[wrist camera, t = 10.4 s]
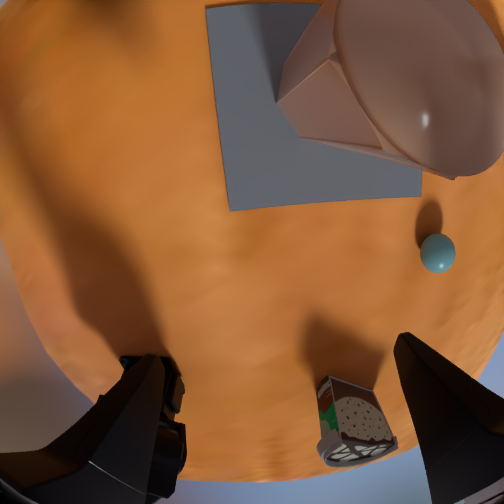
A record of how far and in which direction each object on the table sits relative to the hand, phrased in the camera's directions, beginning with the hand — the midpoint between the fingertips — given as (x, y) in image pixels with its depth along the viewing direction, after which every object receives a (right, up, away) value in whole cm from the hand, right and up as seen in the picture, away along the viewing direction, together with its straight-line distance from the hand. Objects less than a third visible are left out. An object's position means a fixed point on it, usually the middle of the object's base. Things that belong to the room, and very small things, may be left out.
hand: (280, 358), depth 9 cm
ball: (+16, +4, +13) cm, 21 cm away
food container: (+10, -15, +22) cm, 29 cm away
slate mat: (+4, +15, +8) cm, 17 cm away
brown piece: (+4, +15, +7) cm, 17 cm away
